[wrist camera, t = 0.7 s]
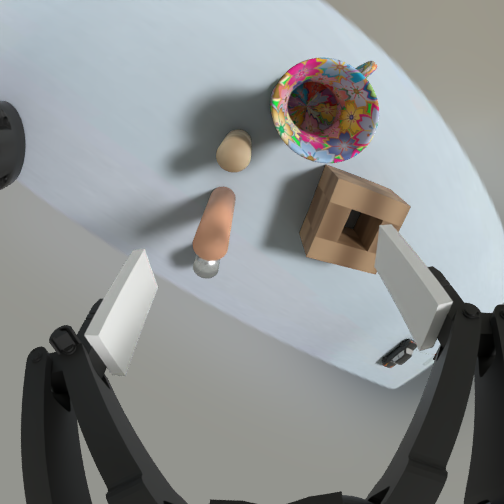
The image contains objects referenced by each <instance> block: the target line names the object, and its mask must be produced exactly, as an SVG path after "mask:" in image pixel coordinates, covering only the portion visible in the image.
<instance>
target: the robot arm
mask: <svg viewBox="0 0 504 504" xmlns="http://www.w3.org/2000/svg"><path fill="white" fill-rule="evenodd" d="M24 155H25V134H24V128H23V124H22V121H21V118H20V116H19V114H18V112H17V110H16V109H15V108H14V107H13V106H12V105H11V104H10V103H8V102H6V101H0V190H1V189H3V188H5V187H7V186H8V185H10V184H11V183H13V182H14V181H15V180H16V178H17V177H18V175H19V173H20V171H21V168H22V165H23V161H24ZM374 267H375V268H376V270H377V272H378V274H379V275H380V277H381V279H382V281H383V282H384V284H385V286H386V288H387V289H388V291H389V293H390V295H391V297H392V298H393V300H394V302H395V304H396V306H397V308H398V309H399V311H400V313H401V315H402V317H403V319H404V321H405V323H406V325H407V327H408V329H409V331H410V333H411V335H412V337H413V339H414V341H415V343H416V345H417V347H418V349H419V351H421V350H425V349H428V348H432V347H433V346H434V344H435V342H436V340H437V338H438V340H439V342H440V344H441V345H440V347H439V349H438V351H437V353H436V355H435V356H434V358H433V360H435V361H434V364H433V368H432V370H431V374H430V376H429V379H428V382H427V385H426V388H425V390H424V393H423V395H422V398H421V400H420V403H419V405H418V407H417V410H416V412H415V414H414V417H413V419H412V422H411V424H410V426H409V428H408V430H407V432H406V434H405V436H404V438H403V440H402V442H401V444H400V446H399V448H398V450H397V452H396V454H395V456H394V457H393V459H392V461H391V463H390V465H389V466H388V468H387V470H386V471H385V473H384V475H383V476H382V478H381V479H380V480H379V481H378V483H377V484H376V485H375V487H374V488H373V489H372V491H371V492H370V493H369V495H368V497H367V498H366V499H362V498H358V497H354V496H347V495H342V492H335V493H330V494H324V495H317V496H311V497H307V498H304V499H301V500H298V501H295V502H292V503H288V504H435V503H436V501H437V499H438V497H439V495H440V493H441V491H442V489H443V486H444V484H445V481H446V479H447V474H448V472H447V471H446V465H447V462H448V460H449V457H450V455H451V452H452V449H453V447H454V444H455V441H456V438H457V436H458V433H459V429H460V426H461V423H462V420H463V417H464V413H465V409H466V406H467V402H468V398H469V394H470V390H471V385H472V381H473V376H474V375H475V419H474V435H473V446H472V455H471V462H470V469H469V475H468V481H467V487H466V492H465V498H464V504H504V305H497V306H496V307H495V309H494V311H493V313H481V312H480V310H479V309H478V308H477V307H476V306H475V305H473V304H470V303H464V302H463V301H462V299H461V298H460V296H459V295H458V294H457V292H456V291H455V290H454V288H453V287H452V286H451V285H450V283H449V282H448V281H447V280H446V278H445V277H444V276H443V274H442V273H441V272H440V271H439V270H437V269H436V268H434V267H433V266H432V267H427V266H426V265H425V264H424V262H423V261H422V260H421V259H420V257H419V256H418V255H417V254H416V252H415V251H414V250H413V249H412V248H411V246H410V245H409V244H408V243H407V242H406V241H405V239H404V238H403V237H402V236H401V235H400V234H399V232H398V231H397V230H396V229H395V228H394V227H393V226H392V224H389V225H379V235H378V243H377V251H376V259H375V266H374ZM157 289H158V285H157V283H156V280H155V277H154V274H153V272H152V269H151V266H150V263H149V260H148V257H147V254H146V251H145V249H138V250H133V251H132V252H131V254H130V256H129V257H128V259H127V260H126V262H125V264H124V265H123V267H122V269H121V270H120V272H119V274H118V275H117V277H116V278H115V280H114V282H113V284H112V285H111V287H110V289H109V290H108V292H107V294H106V296H105V297H104V299H99V300H98V301H97V302H96V303H95V304H94V305H93V307H92V308H91V310H90V312H89V314H88V315H87V317H86V320H85V321H84V323H83V325H82V327H81V328H80V331H79V332H78V334H77V335H76V334H75V332H74V330H73V329H72V327H71V326H68V325H64V326H61V327H59V328H58V329H56V330H55V331H54V332H53V333H52V334H51V336H50V339H49V343H50V344H51V345H52V347H53V348H54V349H55V351H56V352H54V353H48V352H47V350H46V349H45V348H44V347H37V348H35V349H33V350H32V351H31V352H30V354H29V355H28V358H27V362H26V369H25V377H24V387H23V398H22V414H21V455H22V471H23V481H24V490H25V497H26V503H27V504H92V502H91V498H90V494H89V490H88V485H87V481H86V476H85V471H84V466H83V460H82V455H81V449H80V441H79V434H78V425H77V420H78V423H79V425H80V428H81V431H82V433H83V436H84V438H85V441H86V443H87V445H88V448H89V450H90V452H91V455H92V457H93V459H94V462H95V464H96V466H97V468H98V470H99V472H100V474H101V476H102V478H103V480H104V482H105V484H106V486H107V488H108V492H107V494H106V499H107V501H108V504H187V503H186V501H185V500H183V498H182V497H181V496H179V495H178V494H177V493H176V492H175V491H174V490H173V488H172V487H171V486H170V484H169V483H168V482H167V480H166V479H165V478H164V476H163V475H162V473H161V472H160V471H159V469H158V467H157V466H156V465H155V463H154V462H153V460H152V459H151V457H150V455H149V454H148V452H147V451H146V449H145V448H144V446H143V444H142V443H141V441H140V439H139V438H138V436H137V434H136V433H135V431H134V429H133V427H132V426H131V424H130V422H129V420H128V418H127V416H126V415H125V413H124V411H123V409H122V407H121V405H120V403H119V401H118V399H117V397H116V395H115V393H114V391H113V389H112V387H111V385H110V383H109V380H108V378H107V377H106V376H105V374H104V373H105V370H106V368H107V369H108V370H109V371H110V373H111V374H112V375H118V376H126V374H127V371H128V367H129V365H130V362H131V359H132V356H133V353H134V350H135V347H136V344H137V342H138V339H139V336H140V333H141V331H142V328H143V325H144V322H145V320H146V317H147V315H148V312H149V309H150V307H151V304H152V302H153V299H154V296H155V294H156V292H157ZM210 504H255V503H250V502H245V501H232V500H230V501H229V500H210Z"/></svg>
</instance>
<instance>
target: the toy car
mask: <svg viewBox="0 0 504 504" xmlns="http://www.w3.org/2000/svg"><path fill="white" fill-rule="evenodd" d="M400 346H401V347H400ZM400 346H399V347H398V348H397V349H396V350H395V351H393V352H392V353H391V354H390V355H388V356H385V357H383V360H382V361H383V366H385V367H388V368H392V367H393V366H395V365H396V364H399V365H402V364H403V363H405V362H406V361H407V360H408V359H409V358H410V357H411V356H412V353H413V350H414V349H415V348H416V347H417V345H416V343H415V342H414V341H413V340H412V339H411V340H410V339H408V340H407V341H405V342H404V341H402V343H400ZM418 352H419V351H418ZM421 353H422V352H421ZM426 354H427V353H426ZM432 355H436V354H432Z"/></svg>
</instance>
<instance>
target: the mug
mask: <svg viewBox="0 0 504 504" xmlns="http://www.w3.org/2000/svg"><path fill="white" fill-rule="evenodd" d="M376 68H377V65H376V63H375V62H374V61H368V62H366V63H364V64H362V65H360V66H359V67H357V68H354V67H352V66H351V65H349V64H347V63H345V62H342V61H340V60H336V59H331V58H314V59H309V60H305V61H303V62H300V63H298V64H296V65H295V66H293V67H292V68H291V69H289V70H288V71H287V72H286V73H285V74H284V75H283V76H282V78H281V79H280V80H279V82H278V84H277V85H276V86H275V88H274V90H273V92H272V95H271V99H270V110H271V115H272V117H273V122H274V125H275V127H276V130H277V132H278V134H279V135H280V137H281V139H282V140H283V141H284V143H285V144H286V145H287V146H288V147H289V148H290V149H291V150H293V151H294V152H295V153H297V154H298V155H300V156H302V157H304V158H306V159H308V160H311V161H315V162H320V163H337V162H342V161H345V160H348V159H350V158H352V157H354V156H356V155H357V154H359V153H360V152H361V151H362V150H363V149H364V148H365V147H366V146H367V145H368V144H369V143H370V141H371V140H372V138H373V136H374V134H375V132H376V129H377V126H378V121H379V106H378V101H377V97H376V94H375V92H374V90H373V88H372V86H371V84H370V83H369V81H368V80H367V79H366V78H367V77H368V76H369V75H371V74H372V73H373V72H374V71H375V70H376Z"/></svg>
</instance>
